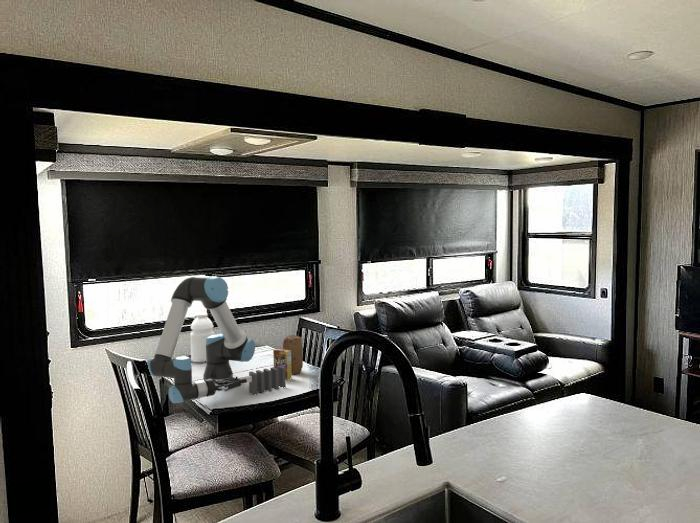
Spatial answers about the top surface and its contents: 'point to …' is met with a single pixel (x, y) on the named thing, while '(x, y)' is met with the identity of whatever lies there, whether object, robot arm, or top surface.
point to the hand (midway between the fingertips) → (251, 378)
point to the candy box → (283, 360)
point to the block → (294, 352)
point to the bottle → (200, 336)
